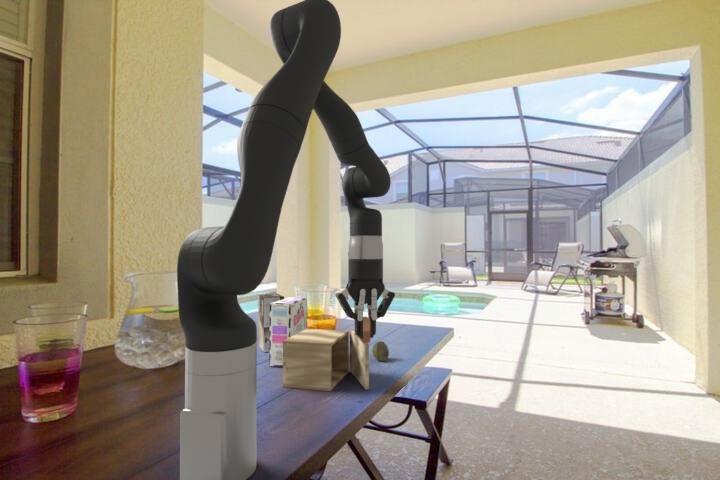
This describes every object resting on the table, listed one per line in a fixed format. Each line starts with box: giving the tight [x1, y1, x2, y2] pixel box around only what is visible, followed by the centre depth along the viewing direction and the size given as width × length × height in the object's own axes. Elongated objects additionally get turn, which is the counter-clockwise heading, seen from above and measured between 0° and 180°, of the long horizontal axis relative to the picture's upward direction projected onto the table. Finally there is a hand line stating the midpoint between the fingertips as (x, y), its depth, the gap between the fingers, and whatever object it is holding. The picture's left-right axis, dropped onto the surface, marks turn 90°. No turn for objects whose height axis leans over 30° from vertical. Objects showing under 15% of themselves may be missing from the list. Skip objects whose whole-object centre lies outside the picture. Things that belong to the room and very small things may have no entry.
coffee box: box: [257, 293, 285, 353], centre depth 123 cm, size 9×6×16 cm
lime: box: [371, 341, 390, 362], centre depth 110 cm, size 4×5×5 cm
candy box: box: [268, 296, 308, 368], centre depth 110 cm, size 14×6×16 cm, turn 168°
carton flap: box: [349, 316, 371, 390], centre depth 93 cm, size 14×2×15 cm, turn 15°
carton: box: [282, 328, 350, 392], centre depth 94 cm, size 14×11×10 cm
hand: (365, 337), depth 87 cm, fingers closed on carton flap, 2 cm apart
